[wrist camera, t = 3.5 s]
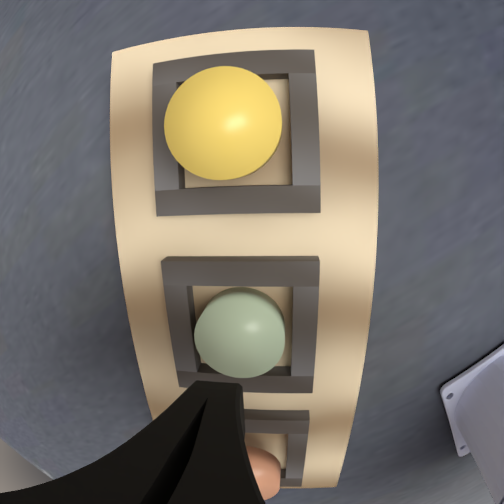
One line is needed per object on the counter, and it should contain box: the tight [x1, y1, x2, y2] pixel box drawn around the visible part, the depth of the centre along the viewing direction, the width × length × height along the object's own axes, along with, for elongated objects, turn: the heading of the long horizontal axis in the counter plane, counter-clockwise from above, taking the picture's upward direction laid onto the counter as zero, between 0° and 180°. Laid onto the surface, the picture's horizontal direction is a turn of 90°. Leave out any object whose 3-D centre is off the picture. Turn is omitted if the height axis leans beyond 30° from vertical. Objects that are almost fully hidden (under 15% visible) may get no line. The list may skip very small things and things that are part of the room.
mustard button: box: [164, 66, 282, 180], centre depth 10 cm, size 4×4×1 cm
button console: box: [110, 27, 378, 488], centre depth 15 cm, size 25×11×3 cm, turn 2°
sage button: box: [194, 287, 285, 378], centre depth 13 cm, size 4×4×1 cm
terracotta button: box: [246, 446, 281, 500], centre depth 14 cm, size 4×4×1 cm
